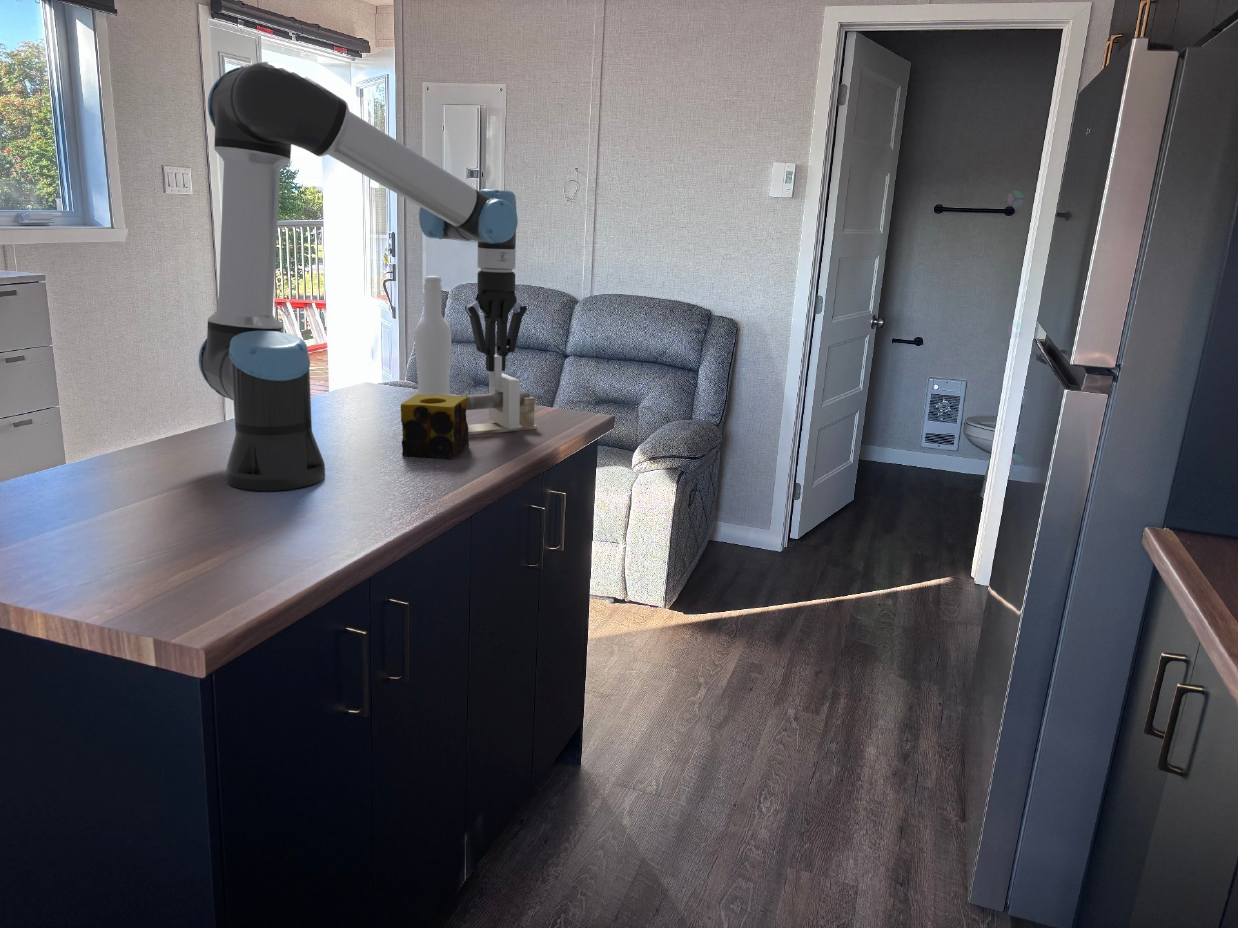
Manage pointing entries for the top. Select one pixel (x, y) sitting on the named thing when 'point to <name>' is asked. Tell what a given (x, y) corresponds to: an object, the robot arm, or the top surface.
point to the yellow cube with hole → (434, 426)
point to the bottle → (433, 343)
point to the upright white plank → (507, 403)
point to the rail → (499, 428)
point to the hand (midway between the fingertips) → (495, 386)
